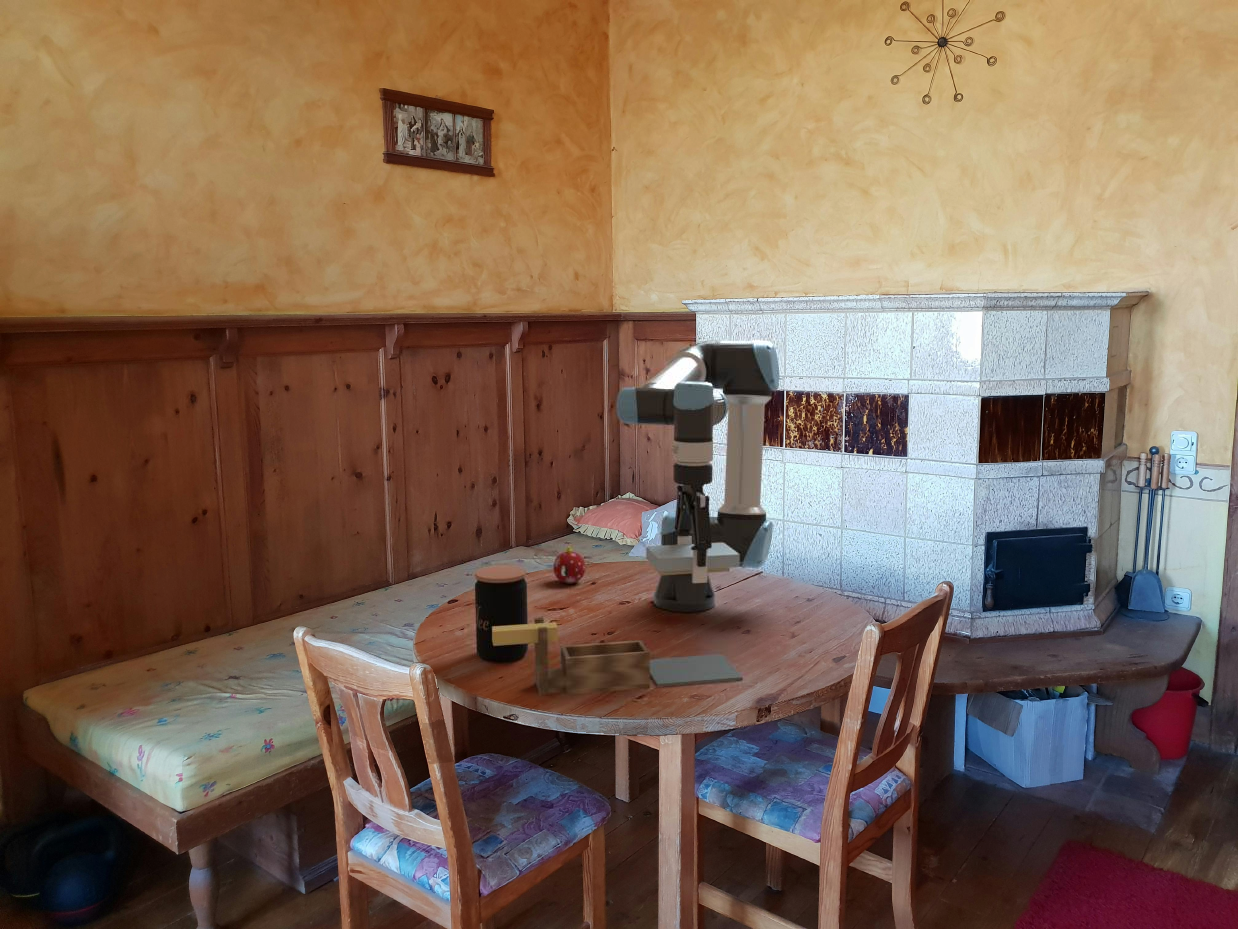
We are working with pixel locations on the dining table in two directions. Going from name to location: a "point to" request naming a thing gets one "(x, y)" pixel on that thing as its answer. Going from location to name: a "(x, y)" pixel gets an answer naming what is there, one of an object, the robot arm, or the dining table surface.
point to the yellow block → (522, 633)
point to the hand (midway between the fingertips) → (691, 575)
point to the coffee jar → (500, 610)
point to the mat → (692, 670)
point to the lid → (690, 558)
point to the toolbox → (591, 666)
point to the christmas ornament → (569, 567)
